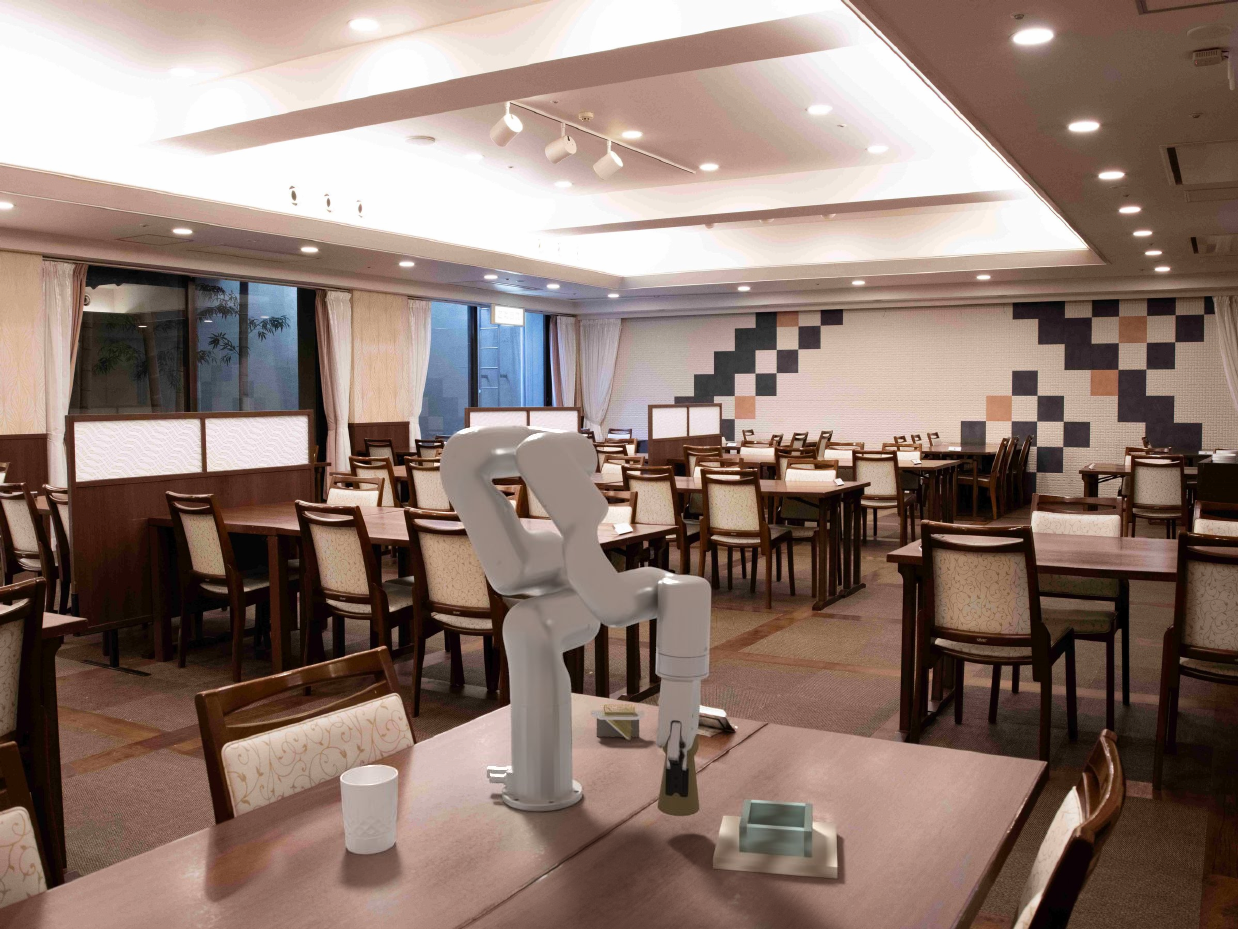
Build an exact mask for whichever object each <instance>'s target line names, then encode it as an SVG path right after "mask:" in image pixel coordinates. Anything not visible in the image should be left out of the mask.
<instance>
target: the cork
mask: <svg viewBox="0 0 1238 929" xmlns="http://www.w3.org/2000/svg"><path fill="white" fill-rule="evenodd" d="M684 746H685V743H680V747H684ZM667 748H668V740H667V742H666V744H665V746H664V747H662V748H661V749H662V751H663V753H664V754H665V756H664V757H665V758H664V762H663V763H664V764H663V770H662V775H661V781H660V787H659V788H660V789H659V794H658V795H659V796H658V799H657V800H658V801H657V810H659V812H661V813H663V814H666V815H669V816H676V817H686V816H692V815H695V814H697V813H698V812H699V811H700V803H699V802H700V801H699V791H698V780H697V770H696V761H695V756H696V755H697V753H698V751H699V739H698V736H697V735H696V736H695V739H694V742H693V745H692V747H691V748H690V749H689V750H688V757H687V768H688V769H689V789H688V796H687V797H681V796H680V795H679V794H678V793H674V794H673V795H672V796H668V795H666V794H665V786H666V766H667V751H668V749H667ZM679 753H680V755H682V757H683V752H679Z"/></svg>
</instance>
